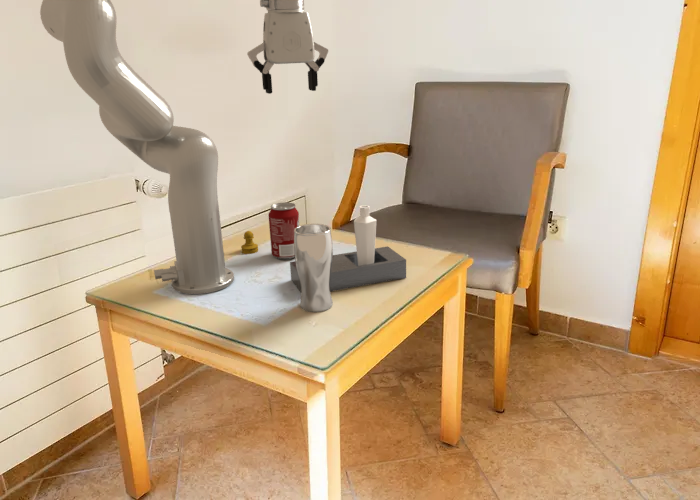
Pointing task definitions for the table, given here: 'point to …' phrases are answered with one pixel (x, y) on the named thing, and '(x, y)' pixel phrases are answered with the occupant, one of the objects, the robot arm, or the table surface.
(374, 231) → the perfume bottle
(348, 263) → the grey block with hole
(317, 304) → the beer glass
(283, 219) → the soda can
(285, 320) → the table surface
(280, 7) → the robot arm
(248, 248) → the chess piece
